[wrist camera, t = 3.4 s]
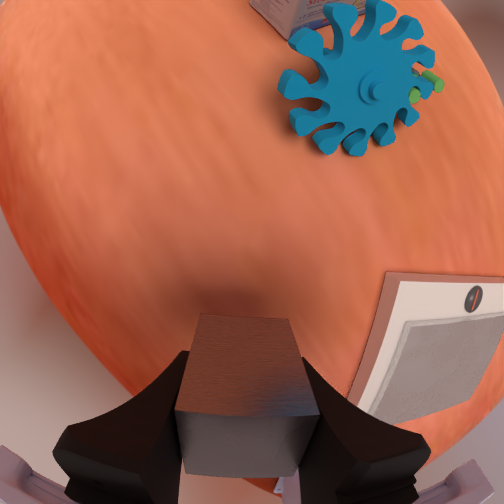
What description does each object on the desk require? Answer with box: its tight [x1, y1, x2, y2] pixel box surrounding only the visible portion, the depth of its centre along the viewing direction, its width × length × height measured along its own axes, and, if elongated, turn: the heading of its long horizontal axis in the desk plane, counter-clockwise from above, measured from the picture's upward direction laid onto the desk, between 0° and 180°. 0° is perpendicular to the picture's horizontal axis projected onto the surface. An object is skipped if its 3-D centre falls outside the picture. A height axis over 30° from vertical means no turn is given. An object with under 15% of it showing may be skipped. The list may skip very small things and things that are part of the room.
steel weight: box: [175, 314, 320, 478], centre depth 10 cm, size 4×4×6 cm
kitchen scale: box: [347, 272, 504, 425], centre depth 18 cm, size 14×18×3 cm
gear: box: [277, 0, 444, 156], centre depth 12 cm, size 11×6×10 cm
